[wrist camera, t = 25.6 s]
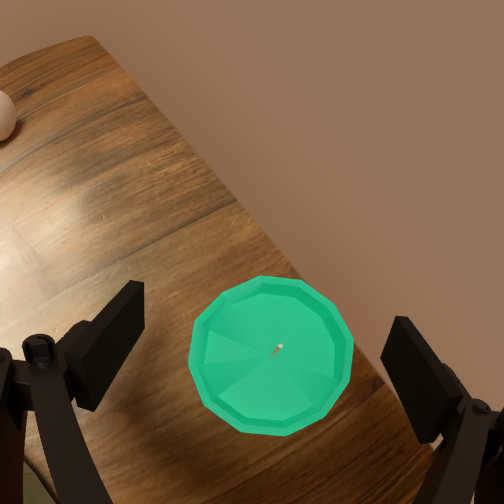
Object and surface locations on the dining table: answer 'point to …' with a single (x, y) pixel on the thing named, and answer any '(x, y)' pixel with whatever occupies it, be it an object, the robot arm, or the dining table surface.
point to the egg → (6, 116)
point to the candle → (270, 356)
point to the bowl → (34, 488)
